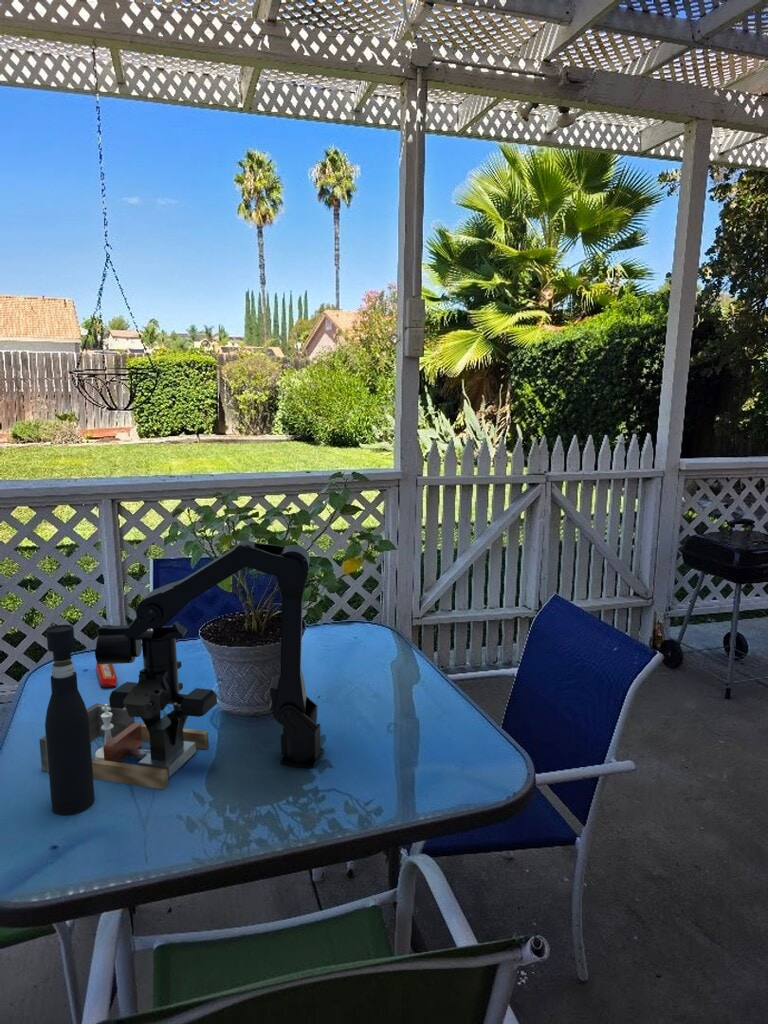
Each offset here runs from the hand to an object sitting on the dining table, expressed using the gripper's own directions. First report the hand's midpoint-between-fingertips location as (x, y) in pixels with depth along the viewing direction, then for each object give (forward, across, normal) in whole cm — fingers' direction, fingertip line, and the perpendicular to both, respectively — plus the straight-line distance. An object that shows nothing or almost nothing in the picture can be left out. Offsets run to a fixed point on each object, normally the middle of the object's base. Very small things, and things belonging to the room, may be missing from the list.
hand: (166, 743), depth 123 cm
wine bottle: (+4, -8, -15) cm, 18 cm away
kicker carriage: (+4, -3, 0) cm, 5 cm away
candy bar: (+4, -37, +32) cm, 49 cm away
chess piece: (+4, -12, 0) cm, 13 cm away
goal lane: (+4, -9, 0) cm, 10 cm away
